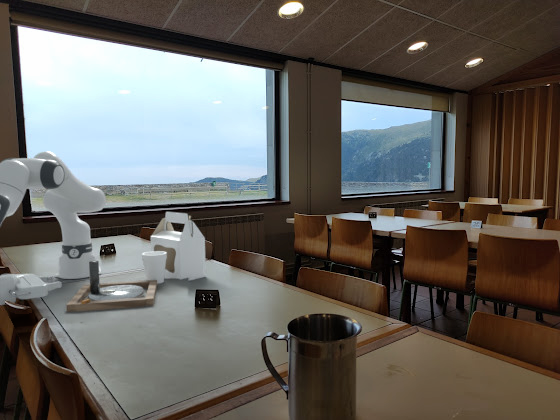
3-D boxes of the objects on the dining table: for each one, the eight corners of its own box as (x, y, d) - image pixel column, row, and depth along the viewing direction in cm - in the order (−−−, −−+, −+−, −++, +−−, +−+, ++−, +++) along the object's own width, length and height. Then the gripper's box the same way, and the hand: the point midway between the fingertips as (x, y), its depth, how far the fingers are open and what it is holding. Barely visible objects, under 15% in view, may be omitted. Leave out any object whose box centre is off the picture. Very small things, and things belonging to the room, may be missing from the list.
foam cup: (160, 288, 160) (159, 255, 159) (138, 287, 162) (137, 255, 161) (171, 282, 169) (170, 251, 168) (150, 281, 171) (149, 250, 170)
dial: (146, 289, 154) (145, 254, 153) (139, 303, 137) (138, 264, 136) (95, 291, 151) (94, 256, 150) (81, 306, 133) (80, 267, 132)
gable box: (206, 277, 179) (205, 212, 177) (180, 283, 169) (179, 215, 167) (176, 269, 193) (174, 210, 191) (151, 274, 183) (149, 212, 181)
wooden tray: (84, 293, 154) (84, 282, 153) (157, 288, 160) (156, 277, 159) (66, 316, 128) (65, 302, 128) (153, 309, 135) (153, 296, 134)
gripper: (12, 285, 117) (65, 277, 126) (1, 273, 133) (49, 266, 142) (13, 307, 118) (66, 297, 127) (2, 292, 133) (50, 284, 142)
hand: (57, 281), depth 135 cm, fingers open, 8 cm apart
